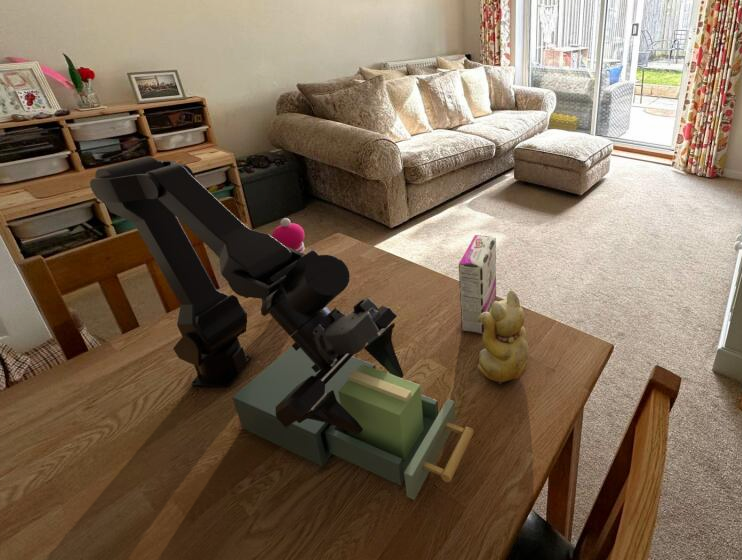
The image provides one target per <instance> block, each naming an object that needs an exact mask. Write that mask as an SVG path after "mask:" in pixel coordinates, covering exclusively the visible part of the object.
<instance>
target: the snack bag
mask: <svg viewBox="0 0 742 560" xmlns="http://www.w3.org/2000/svg"><path fill="white" fill-rule="evenodd" d="M348 378H349V379H348V381H347V382H346V383H345V384H344V385H343V386H342V387H341V388H340V389H339V391H338V392H339V398H340V403H341V406H342V407H343V408H344V409H345V410H346V411H347V412H348V413H349V414H350V415H351V416H352V417H353V418H354V419H355V420H356V421H357V422H358V423H359V425H360V426H361V427H362V429H363V430H362V432H361V433H359V434H356V433H353V432H351V431H348V430H346V435H348V436H351V437H353V438H355V439H357V440H360V441H362V442H364V443H367V444H369V445H371V446H373V447H376V448H378V449H380V450H383V451H385V452H387V453H390V454H392V455H394V456H396V457H399V458H401V459H402V460H404V461H405V459H406V458H407V456H408V454H409V453H410V451H411V449H412V448H413V446H414V444H415V443H416V441H417V440H418V438H419V436H420V435H421V433H422V431H423V430H424V425H423V413H422V401H421V395H422V388H421V384H419V383H415V382H413V381H411V380H408V379H405V378H403V377H402V378H400V377H397V376H394V375H392V374H391V373H389V372H386V371H383V370H380V369H378V368H376V369H375V368H372V367H369V366H366V365H364V364H362V365H361V366H360V367H359V368H358V369H357V371H355V370H354V371H353V372H352V373H351V374H350V375H349V376H348Z"/></svg>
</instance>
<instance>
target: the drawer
mask: <svg viewBox="0 0 742 560" xmlns="http://www.w3.org/2000/svg"><path fill="white" fill-rule="evenodd" d="M421 401H422V413H423V425H424V430H423V431H422V433H421V435H420V436H419V438H418V440H417V441H416V443H415V444H414V446H413V448H412V449H411V451H410V453H409V454H408V456H407V458H406V459H405V461H404V460H402V459H401V458H399V457H396V456H394V455H392V454H390V453H387V452H385V451H383V450H380V449H378V448H376V447H373V446H371V445H369V444H367V443H364V442H362V441H360V440H357V439H355V438H353V437H351V436H348V435H346V430H345V429H343V428H340V427H337V426H334V425H331V426H330V427H329V428H328V429H327V430H326V432H325V434H326V439H327V443H328V448H329V452H330V453H331V454H332V456H333V455H334V456H335V457H337V458H340V459H342V460H344V461H346V462H348V463H351V464H353V465H356V466H357V467H360V468H362V469H364V470H365V471H368V472H370V473H373V474H374V475H377V476H379V477H381V478H383V479H385V480H388V481H390V482H392V483H395V484H397V485H399V486H402V485H403V483H404V485H405V492H406V493H405V494H406V497H407V498H409V499H411V500H413V501H415V500H416V498H417V496H418V495H419V493H420V491H421V489H422V487H423V485H424V483H425V481H426V479H427V478H428V475H429V474H430V473H433V474H436V475H438V476H440V477H441V479H442V480H443V481H444V482H445V483H451V482H452V479H453V477H454V475H455V473H456V471H457V469H458V467H459V464H460V463H461V460H462V459H463V456H464V454H465V452H466V450H467V448H468V447H469V444H470V442H471V440H472V437H473V436H474V429H473V428H472V427H470V426H465V428H464V427H462V426H459V425H456V406H455V405H456V403H455V400H452V399H449V398H447V399H446V401H445V402H444V403H443V406H442V408H441V410H440V411H439V401H438V400H437V399H434V398H432V397H429V396H426V395H423V394H421ZM451 432H455V433H457V434H460V437H459V440H458V441H457V442H456V445H455V447H454V449H453V451H452V453H451V455H450V457H449V459H448V461H447V463H446V465H445V467H444V468H442V467H440V466H438V465H435V463H436V460H437V459H438V457H439V455H440V454H441V451H442V449H443V448H444V446H445V444H446V442H447V440H448V438H449V436H450V434H451Z"/></svg>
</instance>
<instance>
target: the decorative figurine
mask: <svg viewBox="0 0 742 560" xmlns="http://www.w3.org/2000/svg"><path fill="white" fill-rule="evenodd" d="M478 322H482V323H483V324H484V326H485V330H484V333H483V334H482V344H483V346H484V348H482V350H480V352H479V353H478V354H479V355H478V362H479V363H478V364H477V369H478V371H479V372H480V373H481V374H482V375H483V376H485V377H486V378H487V379H489V380H491V381H494V382H497V383H498V384H499V385H502V384H504V382H508V381H513V380H517V379H520V378H521V376H522V375H523V373H524V372H525V369H526V367H527V364H528V363H529V356H530V352H529V351H530V350H529V345H528V342H527V332H526V328H525V327H524V323H525V312H524V309H523V308H522V306H521V301H520V298H519V296H518V294H517V293H516V291H515V290H514V289H510V290H509V291H508V293H507V295H506V299H502V300H496V301H494V302H493V303H492V306H491V308H490V310H489V312H483V313H481V314H480V316H479V318H478Z"/></svg>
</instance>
